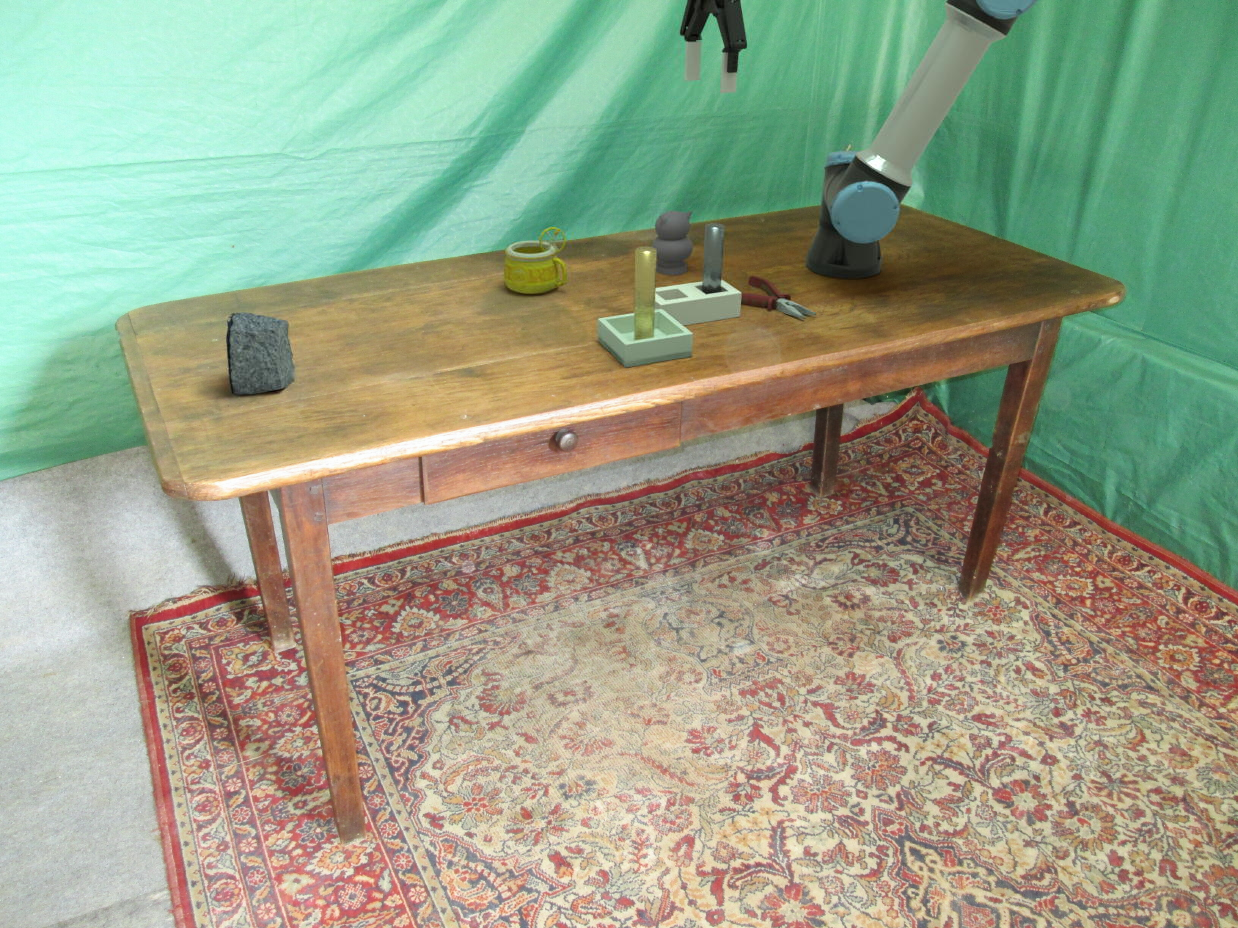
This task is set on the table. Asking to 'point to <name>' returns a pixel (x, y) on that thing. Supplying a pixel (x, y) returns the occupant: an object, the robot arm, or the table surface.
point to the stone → (258, 353)
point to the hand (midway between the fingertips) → (709, 86)
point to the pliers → (773, 299)
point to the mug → (534, 265)
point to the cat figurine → (672, 242)
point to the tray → (664, 346)
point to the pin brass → (644, 292)
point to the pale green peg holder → (698, 303)
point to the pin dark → (713, 258)
